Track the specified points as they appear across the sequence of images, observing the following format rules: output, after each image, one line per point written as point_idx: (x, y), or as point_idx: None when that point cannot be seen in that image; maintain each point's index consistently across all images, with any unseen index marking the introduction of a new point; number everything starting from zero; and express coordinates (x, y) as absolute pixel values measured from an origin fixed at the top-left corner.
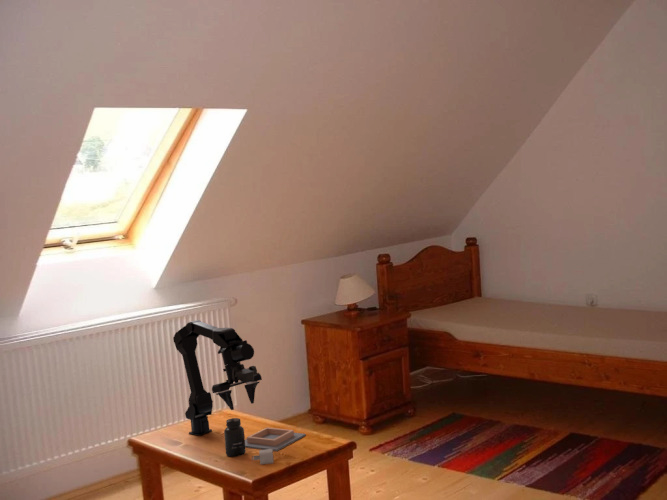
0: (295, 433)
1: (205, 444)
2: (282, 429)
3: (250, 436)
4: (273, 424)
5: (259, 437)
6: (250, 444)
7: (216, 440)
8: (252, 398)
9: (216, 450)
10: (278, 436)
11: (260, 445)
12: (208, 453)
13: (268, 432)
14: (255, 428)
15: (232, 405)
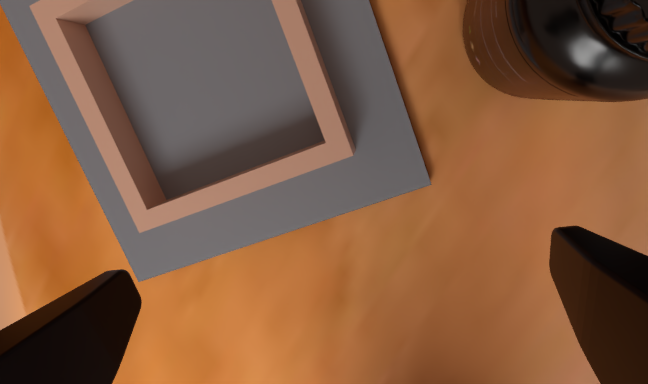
0: (35, 49)
1: (528, 373)
2: (82, 94)
3: (325, 148)
4: None
5: (246, 169)
6: (363, 96)
7: (437, 379)
8: (67, 314)
9: (565, 214)
10: (144, 88)
11: (329, 12)
12: (642, 204)
13: (159, 197)
14: (163, 367)
15: (622, 257)
